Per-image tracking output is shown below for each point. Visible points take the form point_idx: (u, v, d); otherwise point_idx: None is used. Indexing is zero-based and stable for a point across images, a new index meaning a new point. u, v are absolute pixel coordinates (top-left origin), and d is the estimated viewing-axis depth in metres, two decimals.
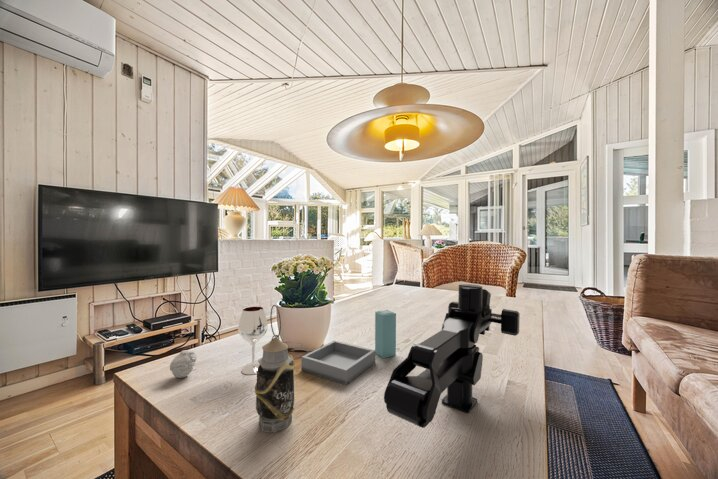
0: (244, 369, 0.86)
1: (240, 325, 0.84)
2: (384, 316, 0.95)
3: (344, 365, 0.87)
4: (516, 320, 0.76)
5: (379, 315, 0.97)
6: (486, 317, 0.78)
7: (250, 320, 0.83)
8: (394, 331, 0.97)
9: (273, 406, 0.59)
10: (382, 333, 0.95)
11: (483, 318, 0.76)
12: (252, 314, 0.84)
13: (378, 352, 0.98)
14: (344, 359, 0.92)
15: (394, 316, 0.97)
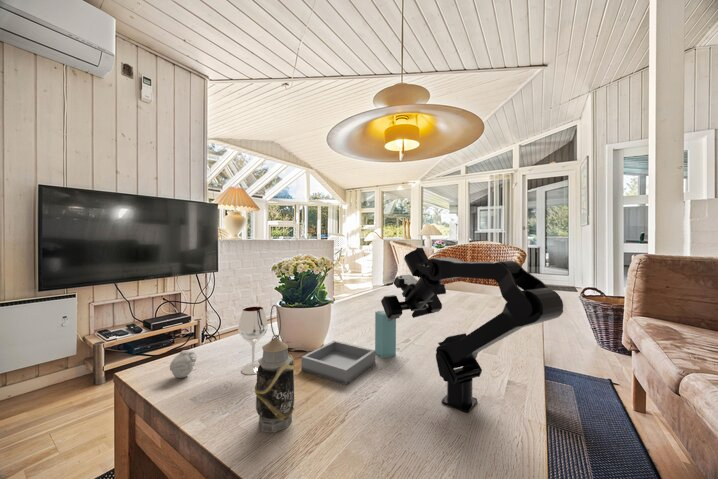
0: (244, 369, 0.86)
1: (240, 325, 0.84)
2: (384, 316, 0.95)
3: (344, 365, 0.87)
4: None
5: (379, 315, 0.97)
6: None
7: (250, 320, 0.83)
8: (394, 331, 0.97)
9: (273, 406, 0.59)
10: (382, 333, 0.95)
11: None
12: (252, 314, 0.84)
13: (378, 352, 0.98)
14: (344, 359, 0.92)
15: None
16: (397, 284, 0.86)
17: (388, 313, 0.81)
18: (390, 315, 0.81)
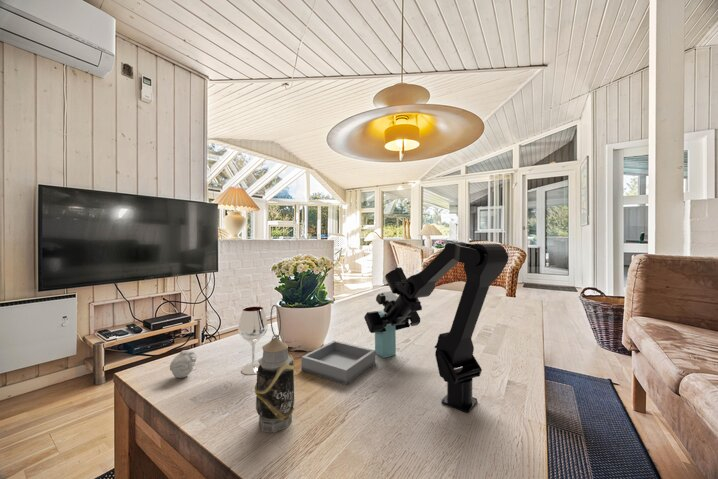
0: (244, 369, 0.86)
1: (240, 325, 0.84)
2: (383, 316, 0.95)
3: (344, 365, 0.87)
4: None
5: None
6: None
7: (250, 320, 0.83)
8: (394, 331, 0.97)
9: (273, 406, 0.59)
10: (382, 333, 0.95)
11: None
12: (252, 314, 0.84)
13: (378, 352, 0.98)
14: (344, 359, 0.92)
15: None
16: (379, 301, 0.94)
17: (370, 328, 0.89)
18: (372, 330, 0.88)
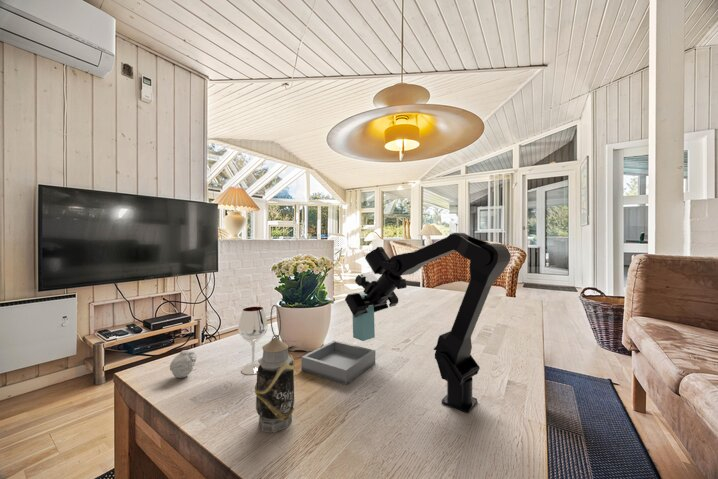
0: (244, 369, 0.86)
1: (240, 325, 0.84)
2: (363, 298, 0.92)
3: (344, 365, 0.87)
4: (393, 290, 0.98)
5: None
6: None
7: (250, 320, 0.83)
8: (372, 313, 0.95)
9: (273, 406, 0.59)
10: (362, 315, 0.92)
11: None
12: (252, 314, 0.84)
13: (357, 336, 0.94)
14: (344, 359, 0.92)
15: None
16: (359, 282, 0.91)
17: (354, 310, 0.85)
18: (356, 312, 0.85)
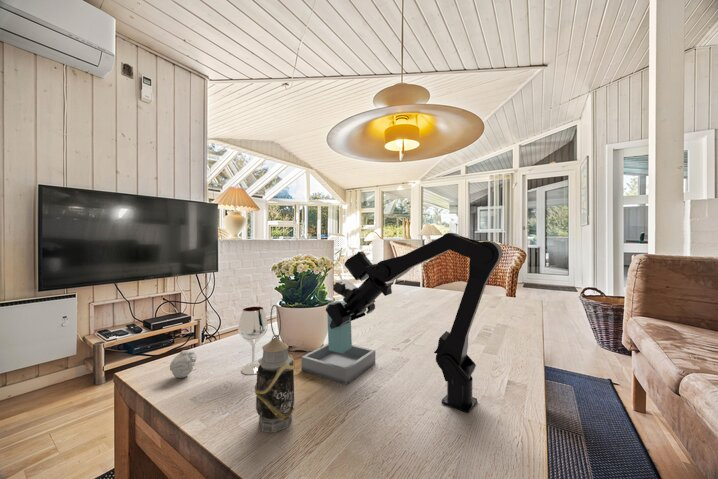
0: (244, 369, 0.86)
1: (240, 325, 0.84)
2: None
3: (344, 365, 0.87)
4: None
5: None
6: None
7: (250, 320, 0.83)
8: (349, 322, 0.89)
9: (273, 406, 0.59)
10: (340, 326, 0.85)
11: None
12: (252, 314, 0.84)
13: (334, 348, 0.87)
14: (344, 359, 0.92)
15: None
16: (339, 290, 0.84)
17: (338, 321, 0.77)
18: (340, 323, 0.77)
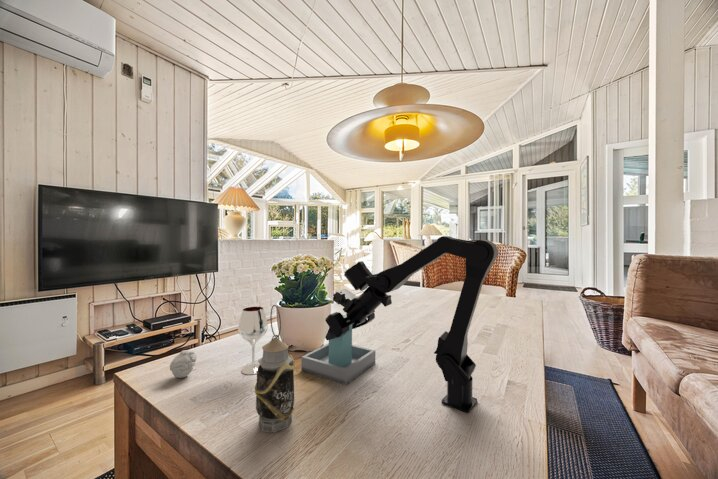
0: (244, 369, 0.86)
1: (240, 325, 0.84)
2: None
3: None
4: None
5: None
6: None
7: (250, 320, 0.83)
8: (350, 336, 0.89)
9: (273, 406, 0.59)
10: (342, 341, 0.85)
11: None
12: (252, 314, 0.84)
13: (334, 363, 0.87)
14: None
15: None
16: (338, 300, 0.84)
17: (338, 332, 0.78)
18: (340, 334, 0.78)
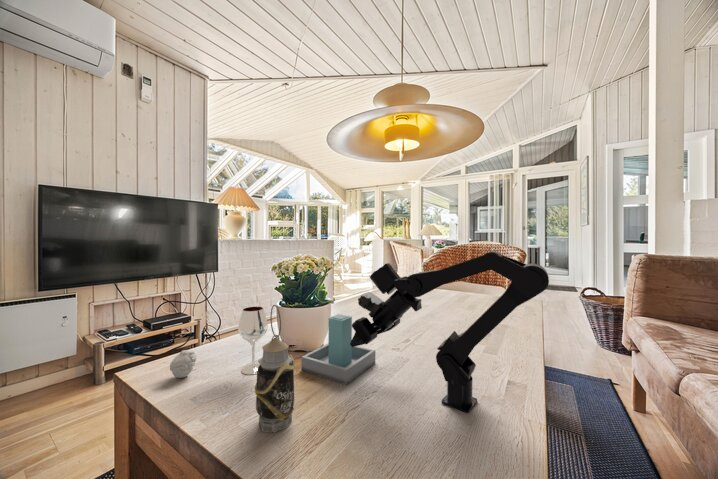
0: (244, 369, 0.86)
1: (240, 325, 0.84)
2: (343, 321, 0.86)
3: None
4: None
5: (335, 321, 0.87)
6: None
7: (250, 320, 0.83)
8: (350, 336, 0.89)
9: (273, 406, 0.59)
10: (341, 341, 0.85)
11: None
12: (252, 314, 0.84)
13: (334, 363, 0.87)
14: None
15: (350, 320, 0.89)
16: (364, 304, 0.79)
17: (366, 339, 0.73)
18: (368, 340, 0.73)
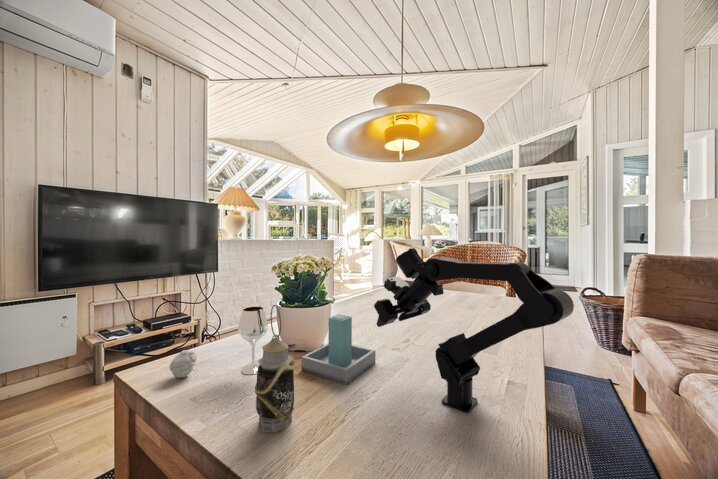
0: (244, 369, 0.86)
1: (240, 325, 0.84)
2: (343, 321, 0.86)
3: None
4: None
5: (335, 321, 0.87)
6: None
7: (250, 320, 0.83)
8: (350, 336, 0.89)
9: (273, 406, 0.59)
10: (341, 341, 0.85)
11: None
12: (252, 314, 0.84)
13: (334, 363, 0.87)
14: None
15: (350, 320, 0.89)
16: (389, 287, 0.82)
17: (384, 318, 0.76)
18: (387, 320, 0.76)
